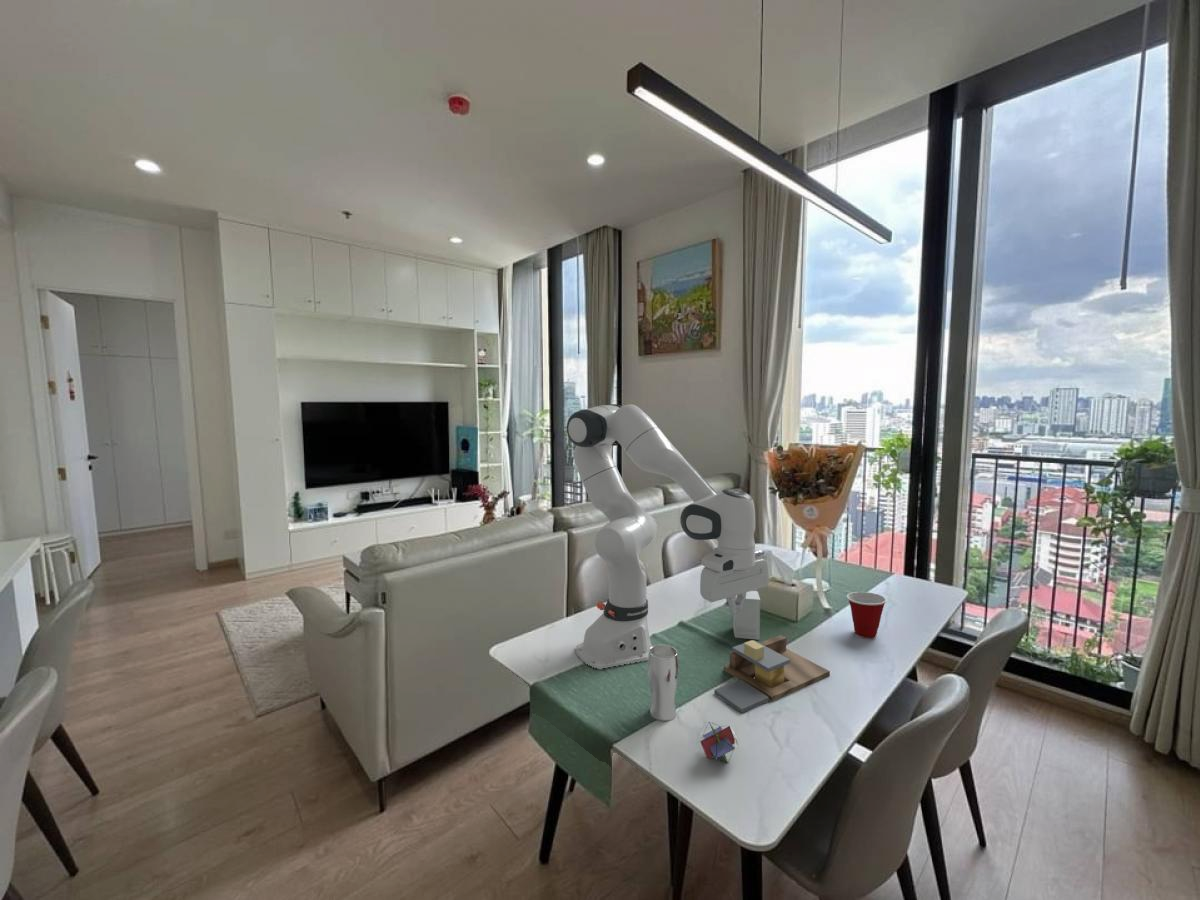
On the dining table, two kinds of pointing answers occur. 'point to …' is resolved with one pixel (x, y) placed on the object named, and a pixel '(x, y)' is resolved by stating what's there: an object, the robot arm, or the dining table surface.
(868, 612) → the plastic cup
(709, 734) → the geometric puzzle
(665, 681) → the beer glass
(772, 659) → the sliding cover
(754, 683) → the puzzle board
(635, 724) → the dining table surface
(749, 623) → the supplement box
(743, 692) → the slate coaster
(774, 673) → the ochre block
